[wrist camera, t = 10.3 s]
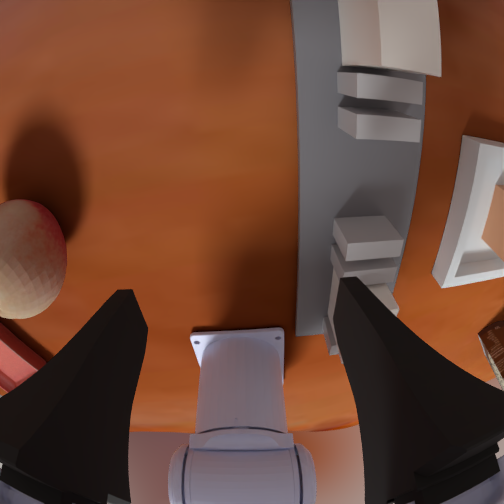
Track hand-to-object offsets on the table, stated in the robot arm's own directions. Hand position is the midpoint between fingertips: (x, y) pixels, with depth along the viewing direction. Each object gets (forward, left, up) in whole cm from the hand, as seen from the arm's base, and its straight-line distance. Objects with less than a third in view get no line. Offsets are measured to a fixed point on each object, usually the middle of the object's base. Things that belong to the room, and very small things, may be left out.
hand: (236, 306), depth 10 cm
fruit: (-1, +15, -10) cm, 18 cm away
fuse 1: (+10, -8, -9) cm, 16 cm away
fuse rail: (+1, -8, -9) cm, 12 cm away
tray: (-2, -22, -9) cm, 24 cm away
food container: (-21, -34, -10) cm, 41 cm away
